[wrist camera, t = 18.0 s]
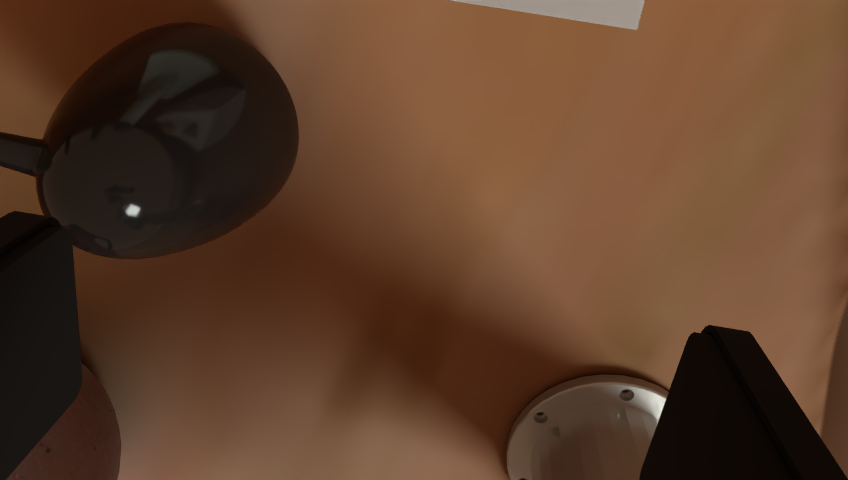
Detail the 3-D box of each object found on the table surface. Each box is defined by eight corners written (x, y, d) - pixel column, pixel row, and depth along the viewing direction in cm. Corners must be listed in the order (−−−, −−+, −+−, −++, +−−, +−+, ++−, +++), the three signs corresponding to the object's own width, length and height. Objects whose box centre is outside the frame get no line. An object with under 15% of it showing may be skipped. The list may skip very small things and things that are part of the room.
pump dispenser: (159, -24, 36) (-44, 7, 22) (343, 67, 37) (260, 150, 23) (110, 147, 40) (-87, 263, 26) (277, 223, 41) (173, 374, 27)
